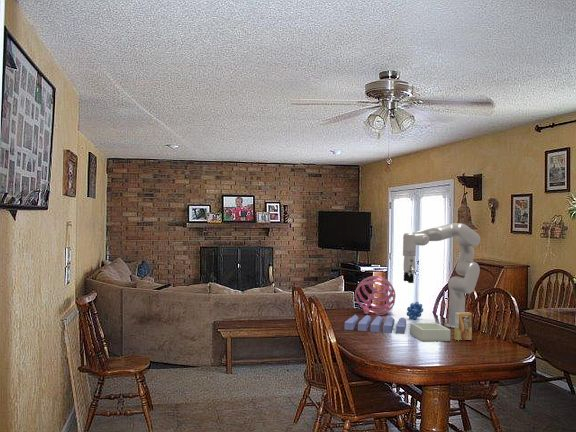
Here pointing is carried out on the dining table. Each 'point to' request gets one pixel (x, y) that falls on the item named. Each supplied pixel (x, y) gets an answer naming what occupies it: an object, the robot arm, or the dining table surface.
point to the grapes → (414, 310)
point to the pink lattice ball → (371, 297)
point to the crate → (429, 332)
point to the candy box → (463, 326)
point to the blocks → (376, 324)
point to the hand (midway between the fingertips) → (408, 282)
